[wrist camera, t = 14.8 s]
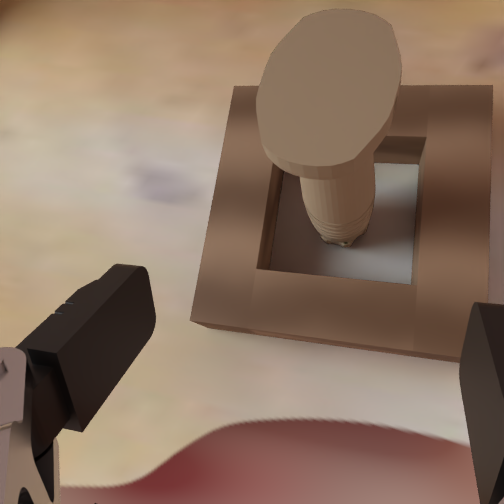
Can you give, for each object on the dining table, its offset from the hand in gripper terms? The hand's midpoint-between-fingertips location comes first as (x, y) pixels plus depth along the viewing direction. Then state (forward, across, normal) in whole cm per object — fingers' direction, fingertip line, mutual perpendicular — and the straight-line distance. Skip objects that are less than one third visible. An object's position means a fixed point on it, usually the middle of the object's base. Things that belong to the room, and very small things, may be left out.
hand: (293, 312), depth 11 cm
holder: (+19, 0, +6) cm, 20 cm away
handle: (+19, 0, +6) cm, 20 cm away
